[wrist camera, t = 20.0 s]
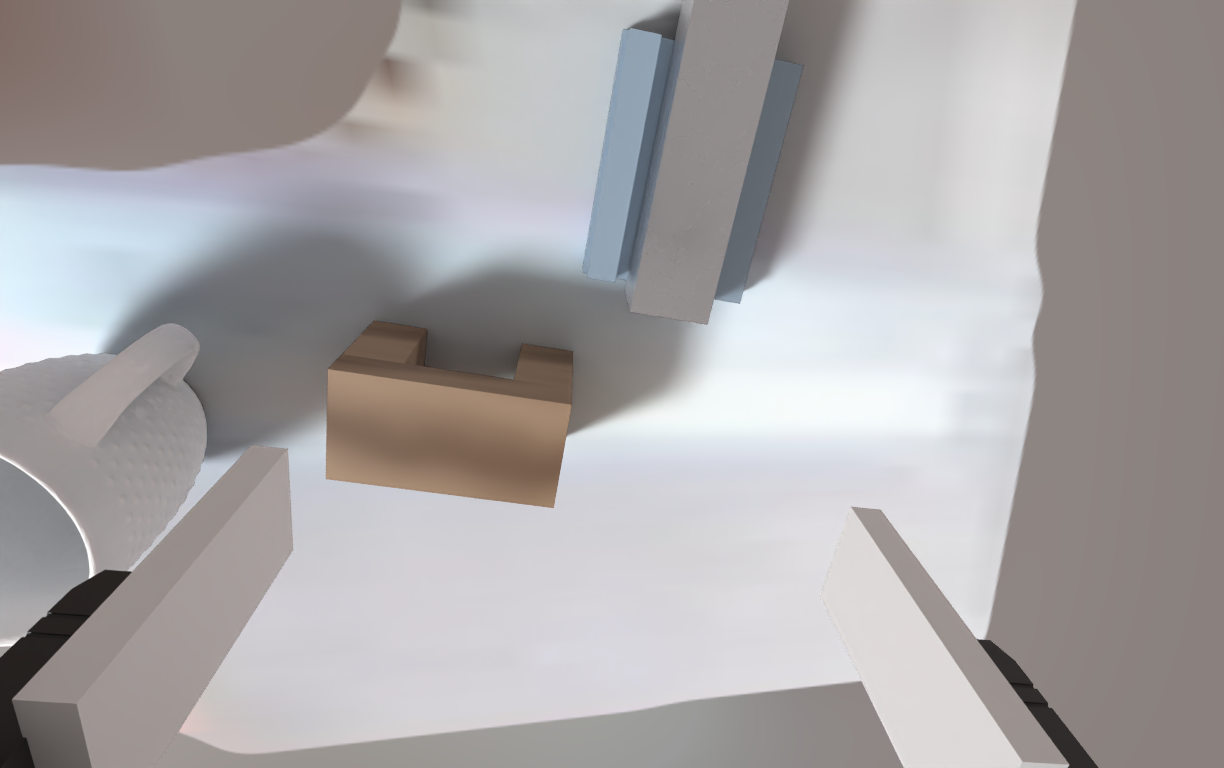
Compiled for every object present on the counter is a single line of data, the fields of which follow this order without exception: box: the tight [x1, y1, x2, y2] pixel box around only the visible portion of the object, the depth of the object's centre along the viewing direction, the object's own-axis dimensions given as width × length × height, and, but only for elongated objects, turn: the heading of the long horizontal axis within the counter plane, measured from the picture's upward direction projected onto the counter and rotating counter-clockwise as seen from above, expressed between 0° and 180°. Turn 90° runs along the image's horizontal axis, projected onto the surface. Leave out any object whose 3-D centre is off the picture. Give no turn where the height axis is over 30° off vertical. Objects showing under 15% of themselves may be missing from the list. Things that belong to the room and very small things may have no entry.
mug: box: [0, 323, 207, 646], centre depth 32 cm, size 15×11×13 cm
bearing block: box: [326, 321, 573, 508], centre depth 36 cm, size 6×12×8 cm, turn 80°
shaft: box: [625, 0, 789, 325], centre depth 32 cm, size 15×4×4 cm, turn 169°
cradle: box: [583, 28, 804, 304], centre depth 34 cm, size 12×9×2 cm
